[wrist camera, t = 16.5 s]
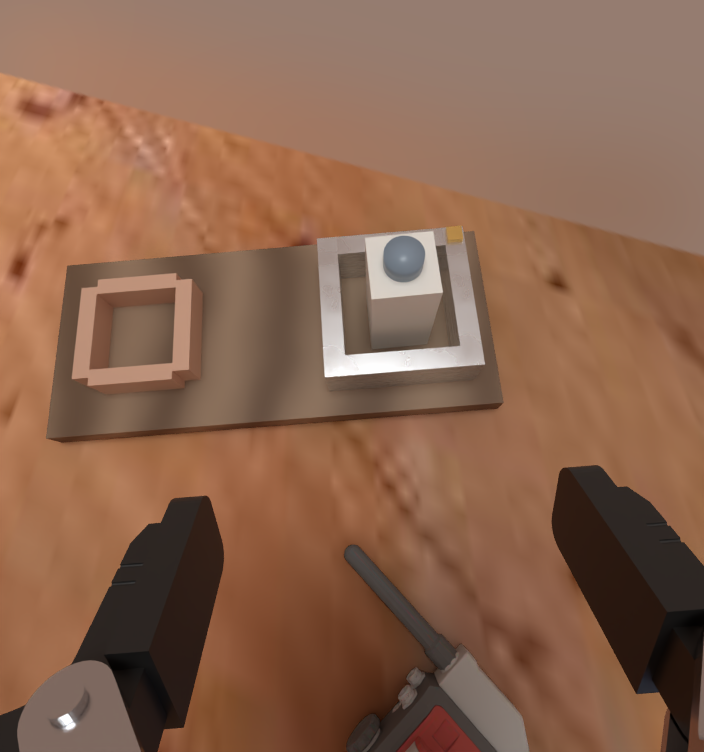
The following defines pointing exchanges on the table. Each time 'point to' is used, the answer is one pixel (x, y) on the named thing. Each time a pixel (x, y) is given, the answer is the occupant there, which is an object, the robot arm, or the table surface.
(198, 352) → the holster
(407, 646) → the table surface
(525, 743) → the walkie-talkie
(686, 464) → the table surface
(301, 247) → the panel
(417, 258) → the plug
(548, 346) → the table surface
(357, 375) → the frame
